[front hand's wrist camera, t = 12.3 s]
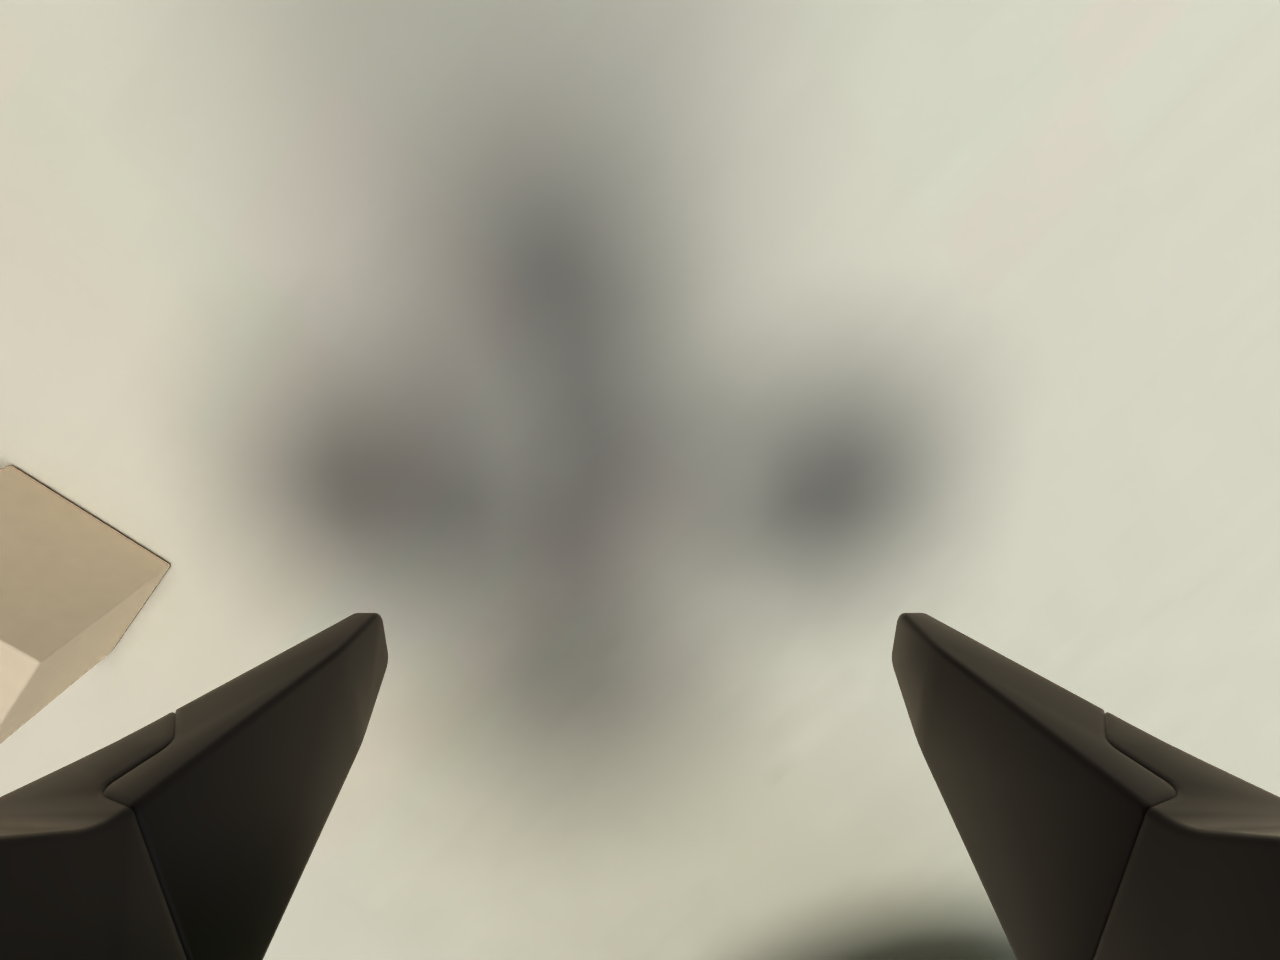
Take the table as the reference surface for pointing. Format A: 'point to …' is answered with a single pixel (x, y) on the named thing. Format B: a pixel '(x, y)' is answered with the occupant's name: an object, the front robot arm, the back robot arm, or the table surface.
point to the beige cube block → (59, 594)
